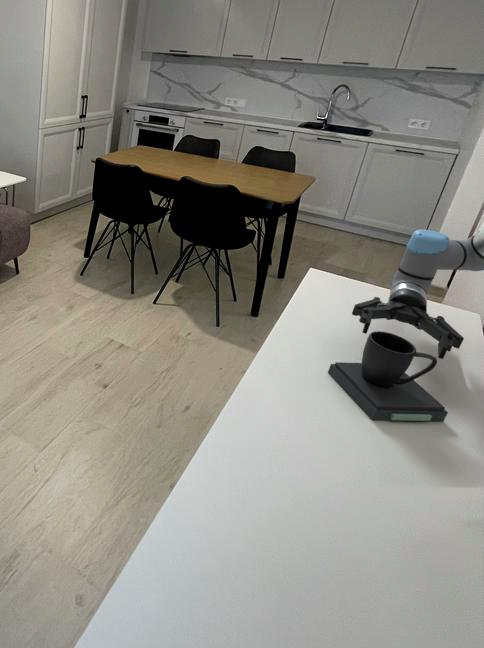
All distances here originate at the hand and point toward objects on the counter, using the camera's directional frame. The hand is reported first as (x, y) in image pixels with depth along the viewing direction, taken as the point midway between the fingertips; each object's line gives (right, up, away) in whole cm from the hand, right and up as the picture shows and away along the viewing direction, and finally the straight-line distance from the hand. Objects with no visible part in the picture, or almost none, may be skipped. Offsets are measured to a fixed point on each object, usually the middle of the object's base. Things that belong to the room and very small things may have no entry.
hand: (403, 340), depth 105 cm
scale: (-4, -12, +1) cm, 13 cm away
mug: (-4, -9, -1) cm, 10 cm away
